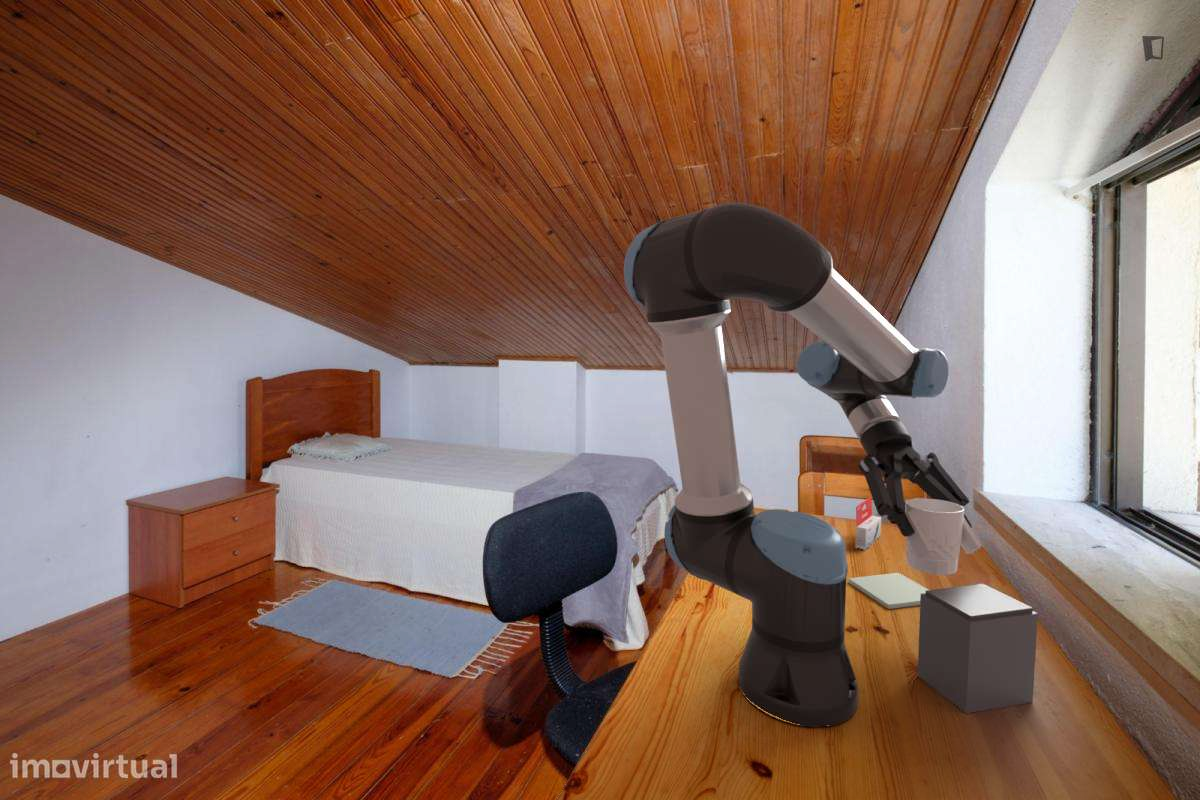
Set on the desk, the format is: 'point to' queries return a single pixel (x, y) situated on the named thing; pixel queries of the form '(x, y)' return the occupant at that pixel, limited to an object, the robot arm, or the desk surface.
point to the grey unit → (977, 647)
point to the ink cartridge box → (866, 525)
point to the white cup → (937, 534)
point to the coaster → (890, 589)
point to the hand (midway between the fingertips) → (950, 552)
